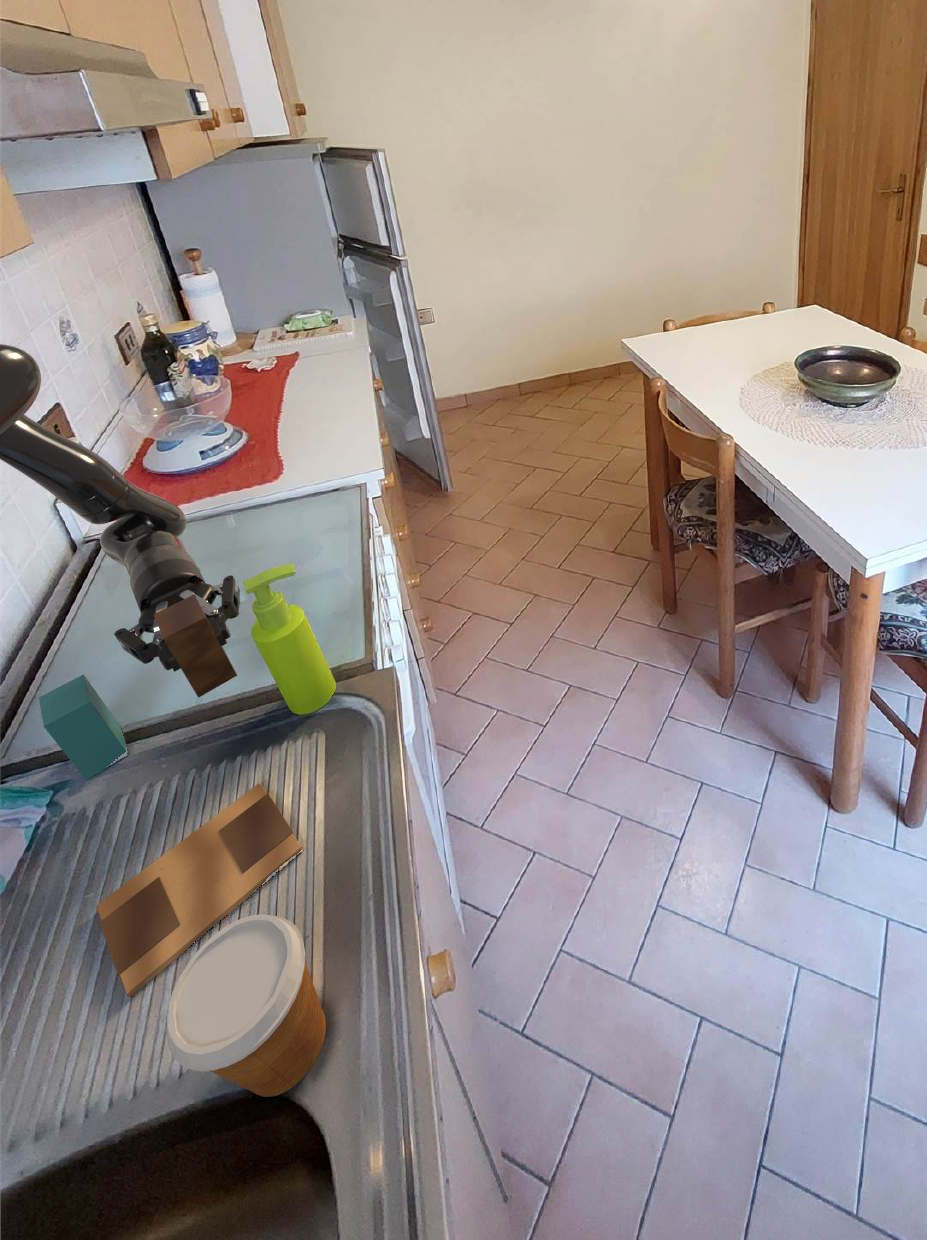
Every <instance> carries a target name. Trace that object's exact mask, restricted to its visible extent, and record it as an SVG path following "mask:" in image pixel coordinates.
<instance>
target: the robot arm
mask: <svg viewBox="0 0 927 1240" xmlns="http://www.w3.org/2000/svg"><path fill="white" fill-rule="evenodd" d="M41 384H42V373H41V369H40V366H39V365H38V363H37V361H36V359H35V358H34V357H33V356H32V355H31V354H30V353H28V352H27V351H26V350H24V349H21V348H20V347H16V346H13V345H8V344H3V343H0V460H1V461H2V462H4V463H6V464H7V465H9V467H10V466H11V467H12V468H14V469H15V470H17V471H18V472H20V473H21V474H23V475H25V476H26V477H27V478H29V479H30V480H32V481H33V482H35V483H36V484H38V485H39V486H40V487H42V488H43V489H45V490H46V491H48V492H49V493H50V494H52V495H53V496H54V497H55V498H57V499H58V500H59V501H60V502H61V503H63V504H64V505H65V506H66V507H68V508H69V509H71V510H72V511H73V512H74V513H75V514H77V515H78V516H79V517H81V518H82V519H83V520H85V521H86V522H88V523H90V524H92V525H93V524H94V525H105V524H109V523H111V524H109V525H108V526H107V527H106V528H104V530H103V531H102V533H101V535H100V537H99V543H100V547H101V549H102V550H103V552H104V553H105V554H106V555H107V556H108V557H109V558H110V559H111V560H113V561H114V562H116V563H117V564H120V565H122V566H124V567H125V568H126V571H127V574H128V577H129V583H130V584H129V585H130V588H131V592H132V594H133V596H134V599H135V602H136V604H137V607H138V609H139V612H140V616H139V618H138V623H137V624H136V625H133V627H131V628H130V629H127V628H125V627H121V628H119V629H117V630H116V631H114V633H113V635H114V637H115V639H116V640H117V642H118V643H119V645H120V647H121V648H122V649H123V650H124V651H125V652H127V653H128V654H130V656H132V657H134V658H135V659H136V660H138V662H141V663H142V664H143V665H147V664H149V663H151V662H153V661H154V659H155V658H158V659H159V662H160V663H161V665H162V666H163V668H164V670H166V671H170V670H173V672H177V671H179V670H182V669H181V667H180V666H179V664H178V662H177V660H176V659H175V658H174V656H173V654H172V653H171V651H170V649H169V648H168V646H167V644H166V643H165V641H164V639H163V637H162V634H161V632H160V629H159V627H158V624H157V622H156V619H155V617H154V614H155V613H157V612H159V611H161V610H163V609H165V608H168V607H170V606H172V605H174V604H176V603H178V602H180V601H182V600H184V599H186V598H188V597H190V596H192V595H194V594H195V596H196V598H197V600H198V602H199V603H200V605H201V607H202V609H203V611H204V613H205V615H206V616H207V618H208V621H209V623H210V625H211V627H212V629H213V631H214V633H215V635H216V638H217V640H218V641H219V643H220V645H221V646H223V647H224V646H225V645H227V644H228V642H227V639H231V632H230V630H229V628H228V627H227V625H226V622H227V621H228V620H229V619H230V620H232V619H233V620H234V619H235V618H238V616H239V615H240V602H241V601H240V600H241V589H240V587H239V584H238V583H237V581H236V579H235V577H234V575H232V574H231V575H228V576H225V577H224V578H223V580H222V583H219V584H217V585H214V586H213V585H212V584H211V583H207V582H206V580H205V578H204V577H203V574H202V573H201V570H200V568H199V567H198V565H197V564H196V562H195V560H194V559H193V557H192V556H191V555H190V554H189V553H188V551H187V549H186V548H185V545H184V544H183V541H182V540H181V539H180V538H179V537H181V535H182V534H183V533H184V532H185V530H186V528H187V517H186V515H185V513H184V512H183V510H182V509H181V508H180V507H179V506H178V505H176V504H175V503H174V502H171V501H170V500H168V499H167V498H164V497H161V496H159V495H157V494H154V493H152V492H149V491H148V490H145V489H143V488H140V487H139V486H137V485H135V484H134V483H132V482H131V481H130V480H128V479H127V478H126V477H125V476H124V475H123V474H122V473H121V472H119V471H118V470H117V469H116V468H115V467H114V466H113V465H112V464H111V463H109V462H108V461H107V460H105V459H104V458H103V457H102V456H100V455H99V454H97V453H96V452H95V451H92V450H91V449H90V448H87V447H86V446H83V445H81V444H80V443H78V442H76V441H73V440H71V439H70V438H67V437H66V436H63V435H61V434H59V433H57V432H54V431H52V430H51V429H49V428H48V427H45V426H43V425H42V424H40V423H38V422H37V421H35V420H33V419H32V418H30V417H29V416H27V415H26V413H27V412H28V411H29V410H30V409H31V407H32V406H33V404H34V403H35V402H36V400H37V398H38V396H39V392H40V390H41V386H42V385H41ZM217 596H220V598H221V605H220V606H219V607H216V606H214V605H213V604H214V602H215V601H216V599H217ZM144 633H147V634H153V637H152V641H150V642H148V643H147V642H146V641H145V640H144V636H143V634H144Z"/></svg>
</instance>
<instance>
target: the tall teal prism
mask: <svg viewBox="0 0 927 1240" xmlns="http://www.w3.org/2000/svg"><path fill="white" fill-rule="evenodd" d="M38 701H39V706H40V707H39V708H40V713H41V720H42V726H43V728H44V729H45V730H46V731H47V733H48V734H49V736H50V737H51V738H52V740H53V741H54V742H55V743H56V744H57V745H58V747H59V748H60V749H61V750H62V751H63V753H64V754H65V755H66V757H67V758H68V759H69V760H70V761H71V763H72V764H73V766H74V767H75V768H76V770H78V771H79V773H80V775H81V776H83V778H84V779H85V780H86V781H88V780H90V779H91V778H93V777H95V776H96V775H98V774H100V773H101V772H104V771H105V770H106V769H105V768H107V766H109V765H110V764H111V763H113V761H115V759H118V757H120V756H121V755H122V754H124V753H125V752H126V745H127V742H126V737H125V735H124V732H123V733H122V731H123V730H122V731H121V727H122V726H121V725H120V723H119V722H118V720H117V719H116V718H115V716H114V715H113V713H112V712H111V711H110V709H109V707H108V706H107V705H106V704H105V702H104V700H103V699H102V698H101V696H100V695H99V694H98V692H97V691H96V690H95V688H94V687H93V685H92V684H91V682H90V681H89V680H88V678H87V677H86V676H85V674H81V675H80V676H78V677H76V678H73V679H72V680H69V681H68V682H66V683H64V684H62V685H60V686H58V687H56V688H54V689H52V690H50V691H49V692H47V693H45V694H42V695H41V696H39V697H38ZM123 735H124V736H123ZM104 769H105V770H104ZM107 769H108V768H107Z"/></svg>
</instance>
